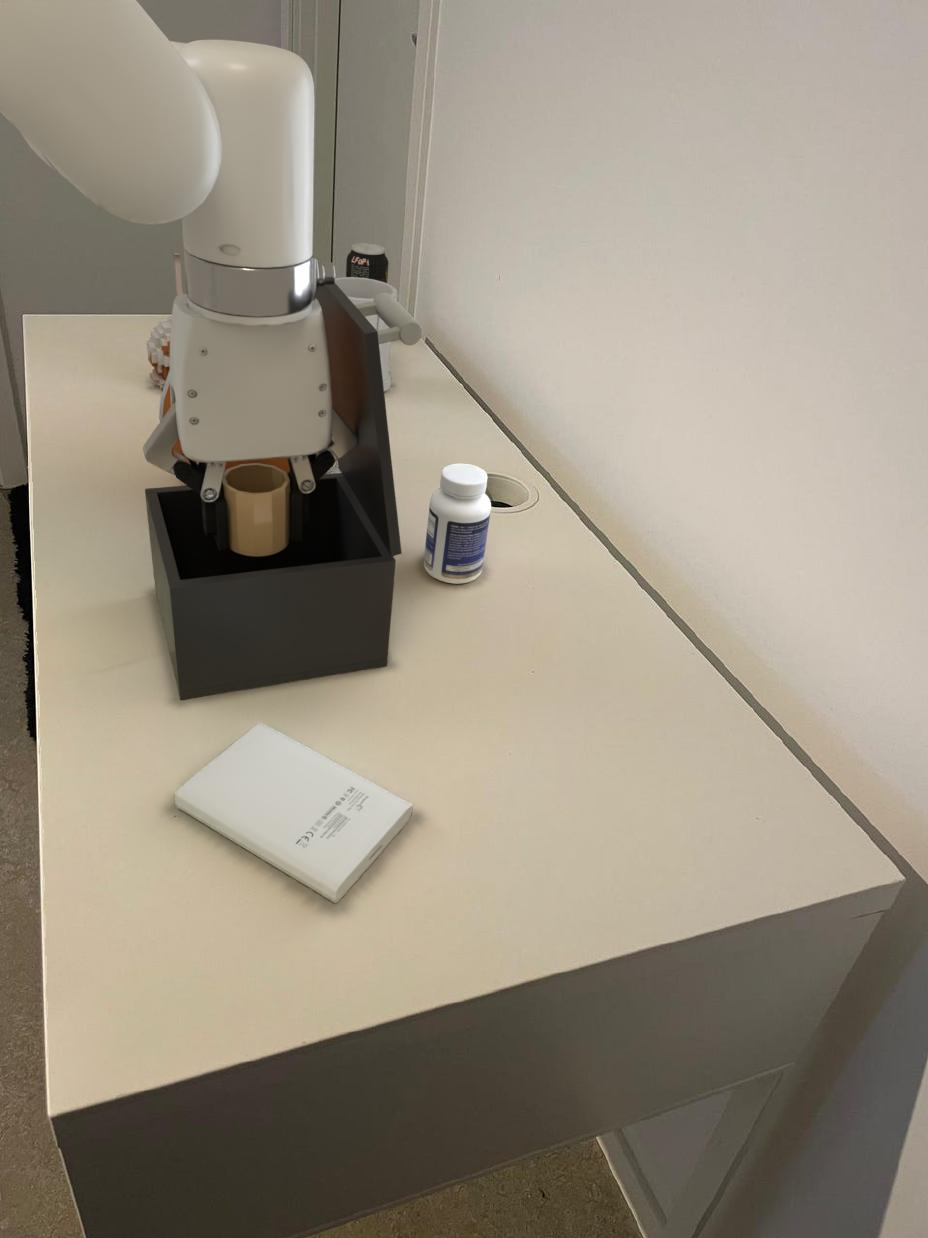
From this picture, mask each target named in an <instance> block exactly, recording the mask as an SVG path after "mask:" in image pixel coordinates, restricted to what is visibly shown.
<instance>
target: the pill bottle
mask: <svg viewBox="0 0 928 1238" xmlns="http://www.w3.org/2000/svg"><path fill="white" fill-rule="evenodd" d="M439 483H440V484H439V488H437V489H436V490H434V491H433V492H432V495H431V496H430V500H429V505H428V507H429V508H428V516H427V517H428V518H427V525H426V526H427V527H426V536H425V546H424V556H423V557H424V558H423V566H424V569H425V571H426V572H427V574H428V575H429V576H431V577H432V578H433V579H436V580H437V581H440V582H444V583H448V584H456V585H457V584H458V585H459V584H467V583H471V582H473V581H475V580H476V579H477V578H479V577H480V575H481V574H482V571H483V567H484V561H485V560H484V558H485V553H486V547H487V546H486V545H487V539H488V533H489V525H490V518H491V512H492V501H491V499H490V498H489V496H488V495H487V494H486V490H487V486H488V485H487V484H488V474H487V472H486V471H485V470H484V469H482V468H481V467H479V466H477V465H474V464H469V463H463V462H462V463H451V464H448V465H445V466H444V467H443V468H442V469H441V472H440V480H439Z"/></svg>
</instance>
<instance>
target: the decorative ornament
mask: <svg viewBox="0 0 928 1238" xmlns="http://www.w3.org/2000/svg"><path fill="white" fill-rule="evenodd" d="M173 264H174V265H173V266H174V277H175V291H176V297H177V296H179V295H181V294H184V293H183V280H182V266H181V254H180V253H179V252H175V253H174V252H173ZM171 318H172V315H168V317H167V318H166V319H167V320H160V321H159V322H157V325H155V326H154V327H153V330H151V331H150V337H148V338H149V340H146V348H147V360H148V361H149V363H150V366H151V367H153V369H151V371H152V372H149V379H150V380H151V383H152V384H153V385H154V386H157V385H159V387H160V389H164V386H165V382H166V379H167V376H168V373H169V371H170V331H171Z"/></svg>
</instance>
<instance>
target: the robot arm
mask: <svg viewBox="0 0 928 1238" xmlns="http://www.w3.org/2000/svg"><path fill="white" fill-rule="evenodd" d="M0 114H2V115H3V116H4V117H5V118H6V119H7V120H8V121H9V122H10V123H11V124H12V125H13V126H14V127H15V128H16V129H17V130H18V131H19V133H20V134H21V136H22V137H23V139H24V141H26V143H27V145H28V146H29V147H30V148H31V150H32V151H33V152H34V153H35V154H36V155H37V156H38V157H39V158H40V160H42V161H43V162H44V163H45V164H46V165H47V166H49V167H50V168H51V169H53V170H54V171H55V172H56V174H58V175H60V176H61V177H62V178H63V179H64V180H65V181H67V182H68V183H69V184H71V185H72V186H74V187H75V188H76V189H77V190H78V191H79V192H80V193H82V195H84V196H85V198H87V199H88V200H89V201H90V202H91V203H93V204H94V205H95V206H96V207H98V208H99V209H101V210H103V211H104V212H106V213H108V214H109V215H111V216H112V217H115V218H118V219H121V220H124V221H127V222H130V223H134V224H141V225H159V224H168V223H171V222H174V221H179V220H181V226H182V227H181V228H182V241H183V257H184V258H183V259H184V272H185V285H186V287H185V288H186V293H183V294H181V295H179V296H177V295H176V296H175V297H174V300H173V304H172V311H171V316H172V318H171V331H170V394H171V407H170V409H169V410H168V412H167V413H166V414H165V416H164V417H163V419H162V420H161V422H160V421H159V422H158V424H157V425H156V427H155V428H154V429H153V431H152V433H151V434H150V435H149V437H148V438H147V440H146V441H145V443H144V444H143V447H142V451H143V455H144V459H145V460H146V461H147V462H148V463H149V464H151V465H153V466H155V467H156V468H159V469H161V470H162V471H164V472H166V473H169V474H171V475H173V476H175V478H176V479H177V480H178V481H180V482H181V483H182V484H184V485H185V486H186V485H187V486H188V487H190V488H191V489H192V490H194V491H195V492H197V493H198V494H199V495H201V501H202V516H203V526H204V531H205V534H206V536H208V535H214V538H215V541H216V544H217V547H218V550H219V551H226V550H227V548H229V530H228V509H227V502H226V499H225V497H224V495H223V492H222V489H221V484H222V480H223V475H224V471H225V467H226V462H232V461H247V460H260V459H273V458H285V457H286V458H287V462H288V465H289V469H290V472H289V473H288V477H289V479H290V539H291V541H294V542H295V543H298V542H302V526H304V525H309V493H311V492H312V491H313V490H314V489H315V487H316V482H317V481H318V480H319V479H320V478H321V477H322V476H323V475H324V474H327V472H328V471H329V470H330V469H332V467H333V466H334V465H335V463H336V461H338V460H337V459H340V458H342V457H343V456H344V455H346V454H347V453H348V452H350V451H351V450H352V449H354V448H355V447H356V446H357V445H358V439H357V437H356V435H355V434H354V432H353V431H352V430H351V428H350V427H349V426H348V425H347V423H346V422H345V421H344V419H343V418H342V417H341V416H340V414H339V413H338V412H337V410H336V409H335V408H334V407H333V405H332V388H331V374H330V363H329V352H328V343H327V336H326V329H325V324H324V318H323V313H322V309H321V306H320V304H319V302H318V300H317V299H316V298H315V292H317V288H318V287H323V285H333V284H334V283H335V278H336V267H335V264H334V263H333V262H331V261H330V262H329V261H328V262H327V261H325V262H324V261H322V260H321V259H317V258H316V257H315V256H314V255H313V246H314V245H313V244H314V241H313V240H314V232H313V231H314V172H315V171H314V168H315V167H314V164H315V163H314V162H315V161H314V159H315V158H314V157H315V84H314V76H313V74H312V72H311V69H310V67H309V65H308V63H307V62H306V61H305V60H304V59H303V58H302V57H301V56H300V55H298V54H296V52H295V53H294V52H292V51H291V50H288V49H285V48H281V47H277V46H274V45H269V44H263V43H257V42H251V41H241V40H232V39H231V40H230V39H198V40H193V41H190V42H179V41H172V40H169V38H168V37H167V36H166V35H165V34H164V33H163V31H162V30H161V28H160V27H159V26H158V25H157V24H156V23H155V22H154V20H153V19H152V18H151V16H150V15H149V14H148V13H147V12H146V10H145V9H144V8H143V7H142V5H141V4H140V3H139V2H138V1H137V0H0ZM179 439H180V442H181V447H182V451H183V453H184V454H180V453H178V452H176V451H175V450H174V449H172V448H173V447H174V445H175V444H176V443H177V441H178V440H179ZM194 461H197V463H196V462H194Z"/></svg>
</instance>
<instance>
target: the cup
mask: <svg viewBox="0 0 928 1238" xmlns="http://www.w3.org/2000/svg"><path fill="white" fill-rule="evenodd" d="M335 283H336V284H337V285H338V287H339V288H340V289H341V290H342V291H343V292H344V293H345V295H346V296H347V297H348V298H349V299H350V300H351V302H352V303H353V304H354V305H358V304H363V303H368V302H373V300H374V298H375V297H376V296H377V295H378V294H380V293H389V294H390V295H391V296H392V297H393V298H394V299H395V300H396V301H397V302H398V290H397V288H396V287H394V286H393V285H391V284H390V283H388V282H387V283H385V282H381V281H377V280H373V279H367V278H357V277H346V276H345V277H335ZM365 318H366V319H367V320H368V321H369V322H370V323H371V325H372V326H373V327H374V328H375V329H376V330H382V329H388V328H389V327H388V326H387V325H386V324H385V322H384V321H383V320H382V319H381V318H380V317H379V316H378V315H377V314H376V315H370V316H365ZM391 345H392V342H388V343H383V344H379V349H380V358H381V368H382V377H383V386H384V393H385V392H386V391H388V390H389V389H390V388H391V386H392V374H391V373H392V372H391V371H390V370H389V367H390V355H391Z"/></svg>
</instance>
